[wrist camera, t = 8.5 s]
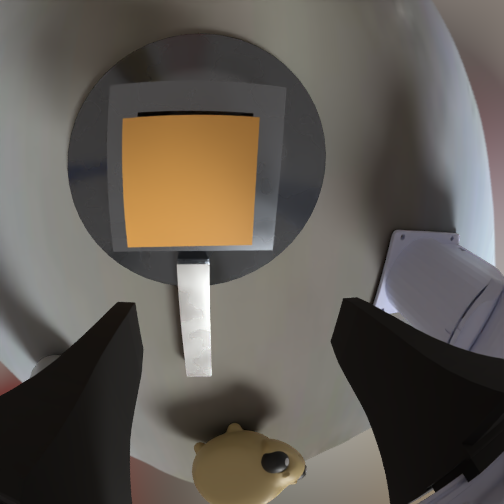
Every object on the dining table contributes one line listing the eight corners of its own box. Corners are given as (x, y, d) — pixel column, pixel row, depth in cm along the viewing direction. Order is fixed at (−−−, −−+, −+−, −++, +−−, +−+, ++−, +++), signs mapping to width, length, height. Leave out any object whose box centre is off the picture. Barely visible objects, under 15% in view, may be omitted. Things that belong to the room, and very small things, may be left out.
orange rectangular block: (230, 127, 15) (259, 117, 7) (227, 195, 16) (252, 245, 9) (160, 127, 14) (122, 118, 7) (159, 195, 15) (127, 247, 8)
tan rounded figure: (299, 428, 30) (325, 497, 20) (218, 457, 30) (229, 522, 20) (269, 396, 25) (297, 486, 16) (173, 430, 26) (177, 512, 16)
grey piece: (328, 54, 14) (356, 40, 11) (290, 356, 23) (303, 387, 20) (80, 49, 11) (55, 33, 8) (109, 360, 20) (100, 393, 17)
